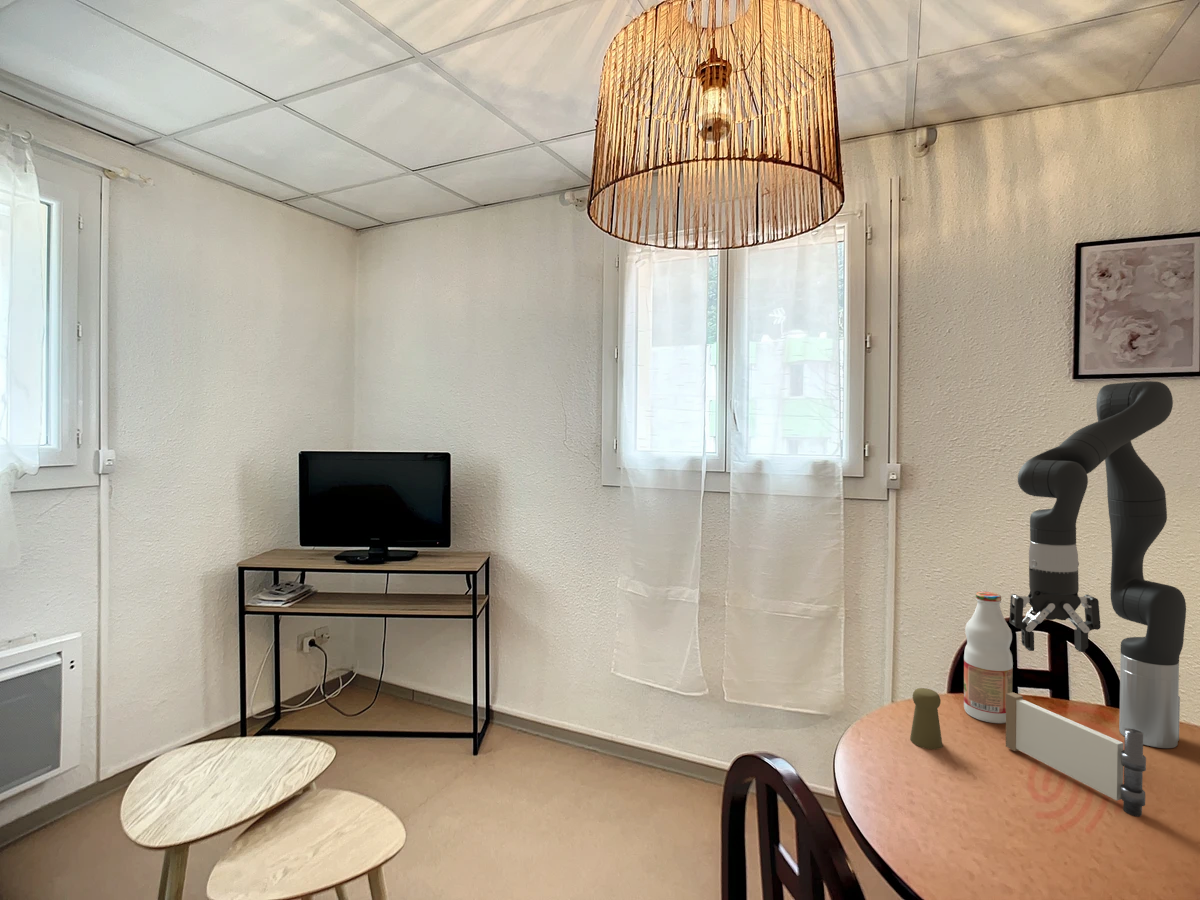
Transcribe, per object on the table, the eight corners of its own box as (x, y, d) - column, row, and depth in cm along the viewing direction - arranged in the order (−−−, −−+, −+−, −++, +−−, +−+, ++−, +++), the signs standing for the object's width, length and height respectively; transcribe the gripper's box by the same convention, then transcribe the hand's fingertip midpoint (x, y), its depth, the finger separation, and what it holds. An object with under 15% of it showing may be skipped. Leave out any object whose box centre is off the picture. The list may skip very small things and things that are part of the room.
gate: (1123, 801, 108) (1124, 739, 107) (1115, 803, 107) (1116, 741, 107) (1012, 744, 127) (1013, 692, 127) (1005, 746, 127) (1006, 693, 126)
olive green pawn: (946, 750, 126) (947, 697, 126) (914, 748, 127) (915, 695, 127) (937, 736, 132) (937, 685, 132) (906, 733, 133) (906, 683, 133)
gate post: (1128, 804, 107) (1129, 726, 107) (1149, 815, 104) (1151, 734, 104) (1115, 808, 106) (1117, 729, 106) (1136, 819, 103) (1138, 737, 103)
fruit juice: (981, 725, 136) (982, 600, 136) (954, 706, 146) (955, 589, 145) (1022, 723, 137) (1023, 599, 136) (992, 704, 146) (993, 588, 145)
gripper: (1084, 561, 118) (1085, 644, 119) (1002, 561, 121) (1003, 642, 122) (1108, 570, 111) (1109, 658, 112) (1020, 570, 114) (1022, 656, 115)
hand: (1054, 650), depth 117 cm, fingers open, 8 cm apart
